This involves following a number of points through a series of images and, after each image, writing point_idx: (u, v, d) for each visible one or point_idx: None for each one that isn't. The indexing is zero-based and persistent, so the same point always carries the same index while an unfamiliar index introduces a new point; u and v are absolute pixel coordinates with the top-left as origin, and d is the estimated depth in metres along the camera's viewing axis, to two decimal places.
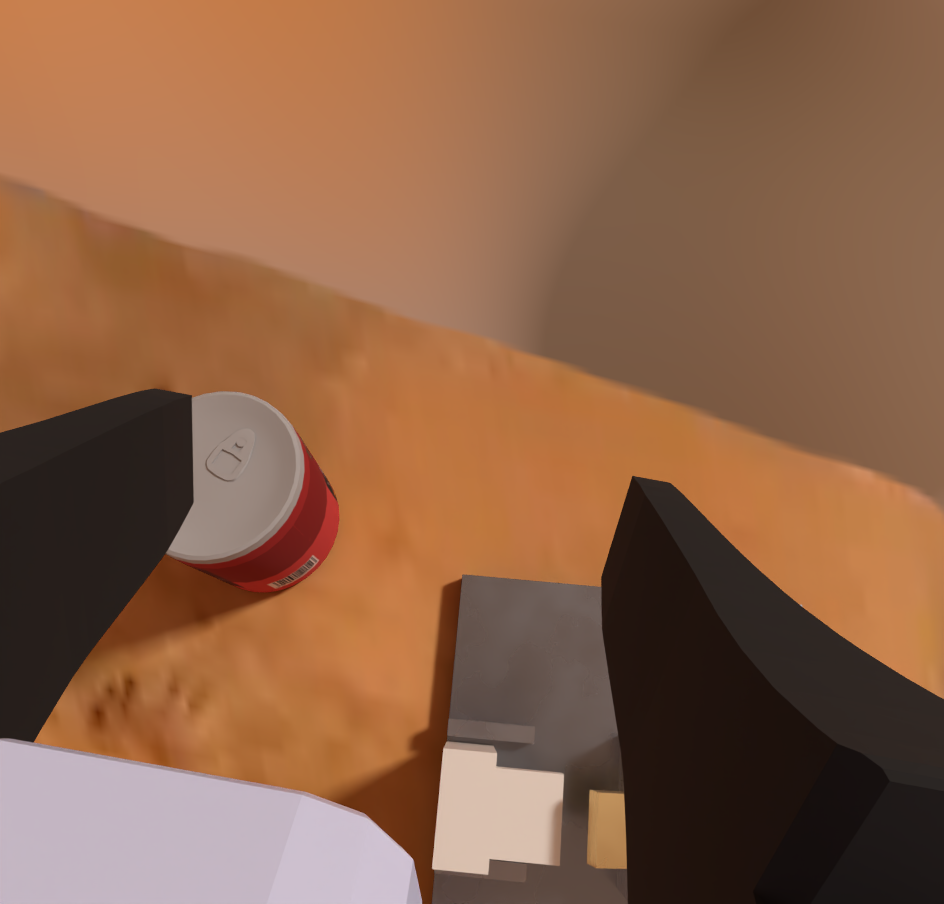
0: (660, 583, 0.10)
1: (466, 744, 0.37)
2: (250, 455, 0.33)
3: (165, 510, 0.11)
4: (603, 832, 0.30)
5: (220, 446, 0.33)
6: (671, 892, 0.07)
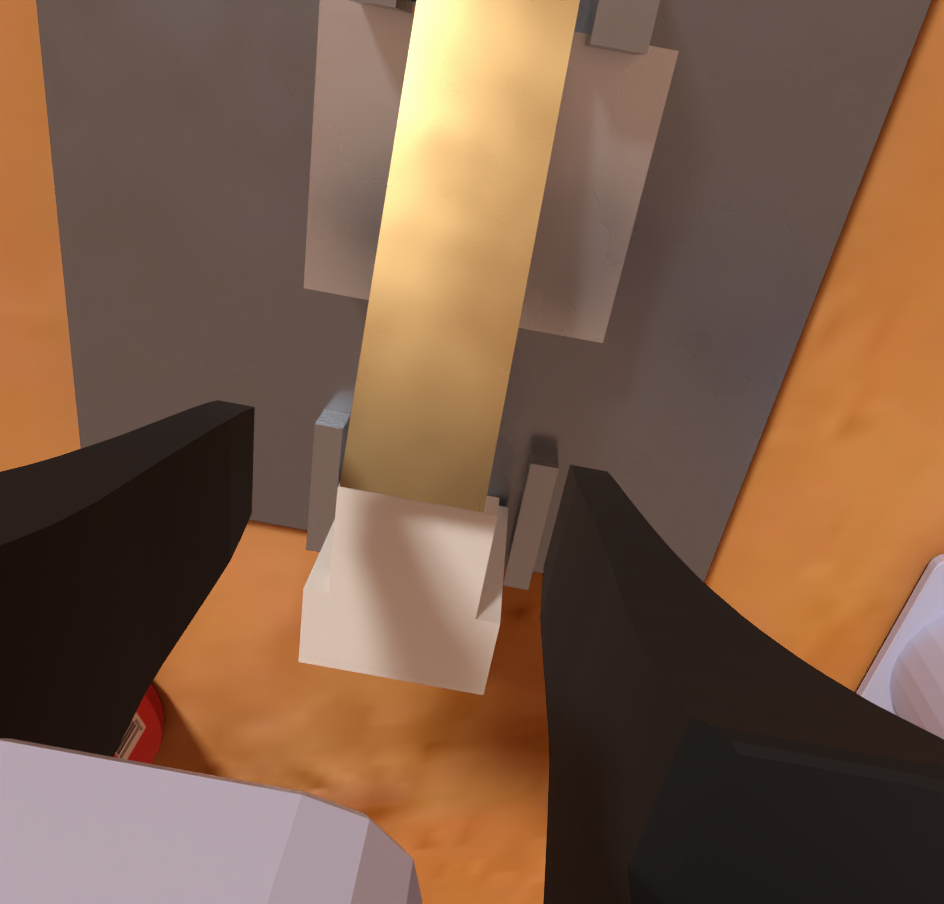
0: (584, 569, 0.10)
1: None
2: None
3: (229, 522, 0.11)
4: (418, 487, 0.14)
5: None
6: (573, 874, 0.07)
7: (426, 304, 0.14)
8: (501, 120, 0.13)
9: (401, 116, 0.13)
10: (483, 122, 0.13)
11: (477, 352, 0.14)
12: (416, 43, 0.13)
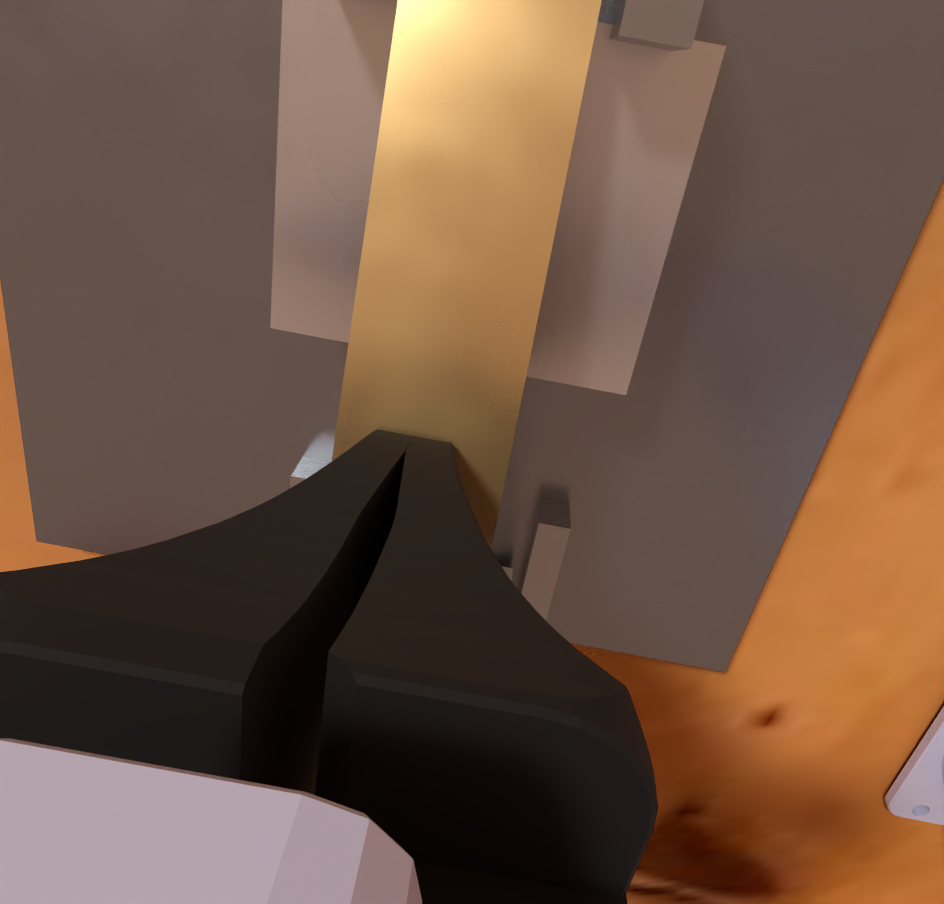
0: None
1: None
2: None
3: None
4: None
5: None
6: None
7: (414, 361, 0.12)
8: (504, 139, 0.11)
9: (382, 134, 0.11)
10: (483, 142, 0.11)
11: (475, 417, 0.12)
12: (399, 42, 0.11)
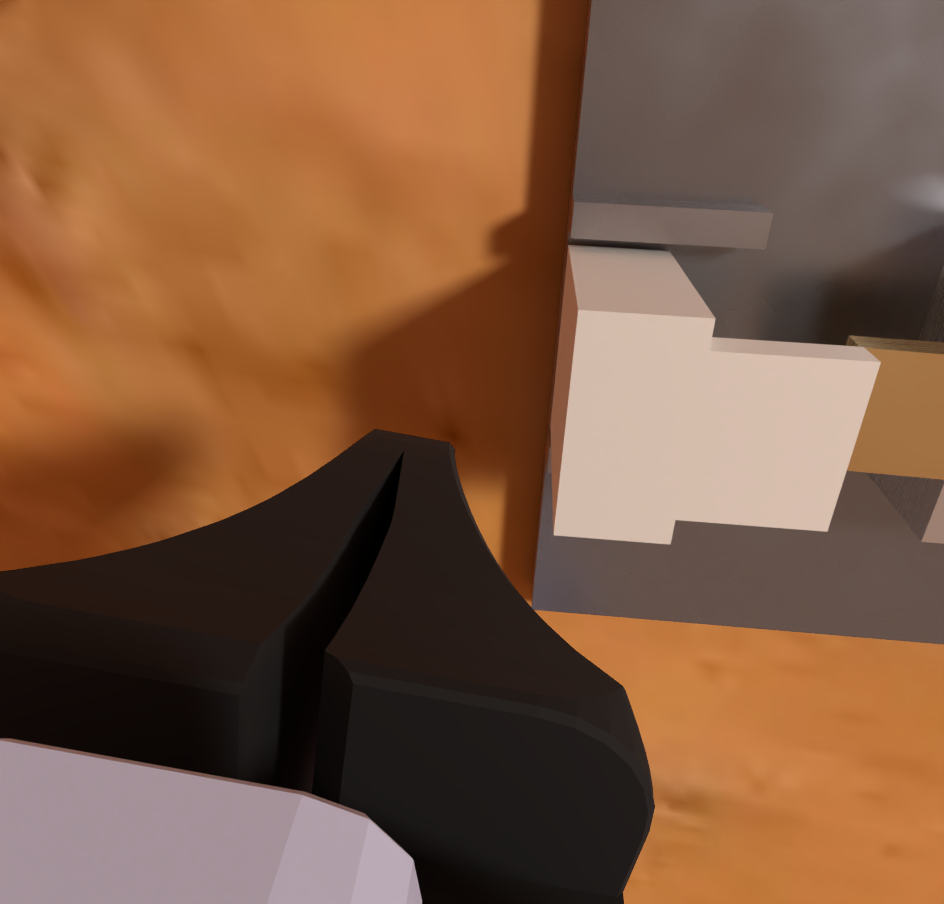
0: None
1: (615, 259, 0.17)
2: None
3: None
4: None
5: None
6: None
7: None
8: None
9: None
10: None
11: None
12: None
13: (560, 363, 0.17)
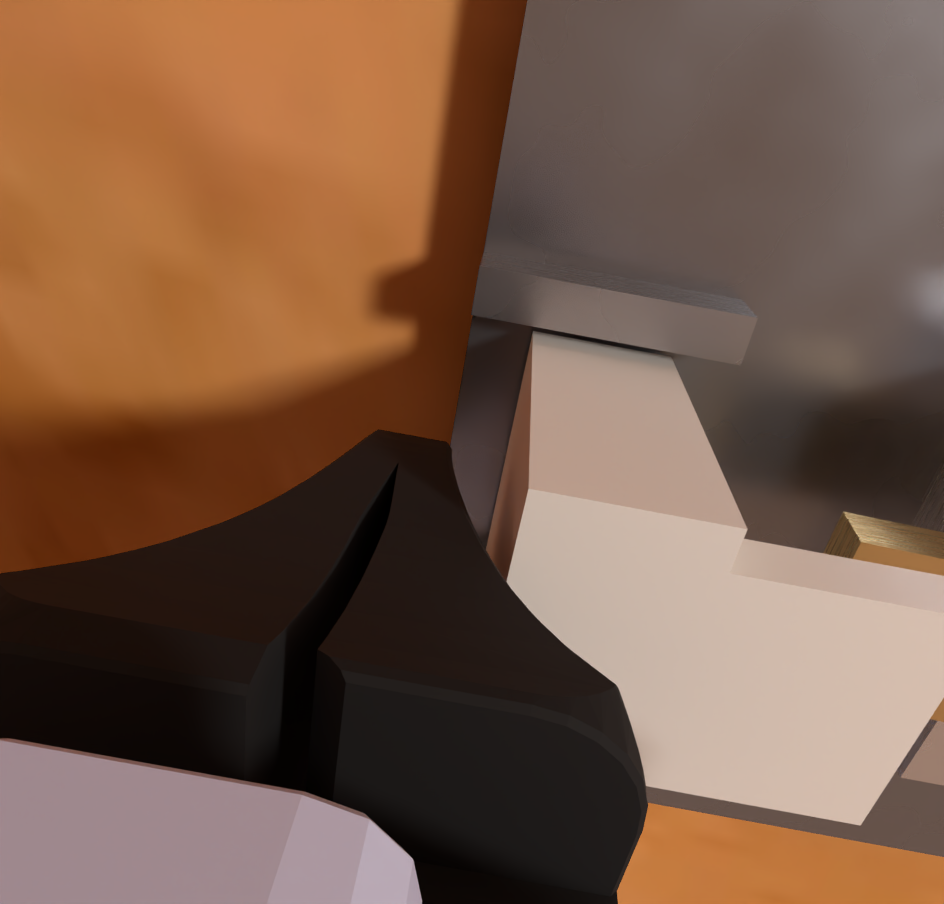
0: None
1: (596, 368, 0.12)
2: None
3: None
4: None
5: None
6: None
7: None
8: None
9: None
10: None
11: None
12: None
13: (502, 500, 0.12)
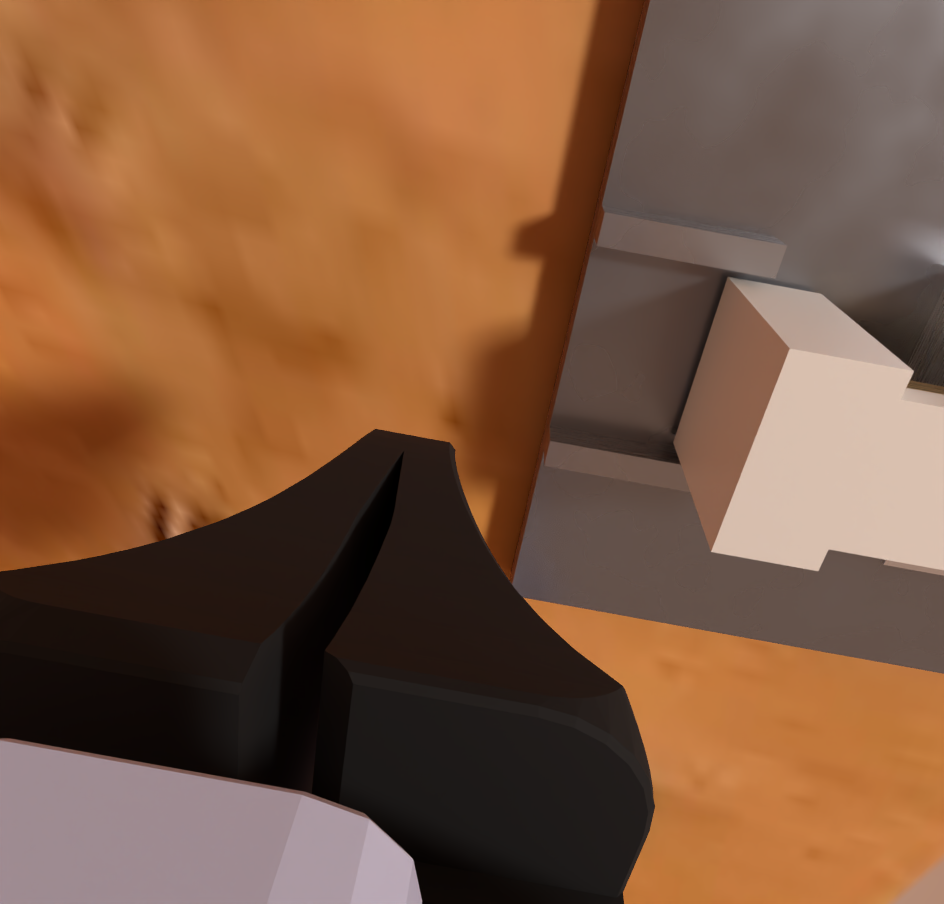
0: None
1: (781, 297, 0.18)
2: None
3: None
4: None
5: None
6: None
7: None
8: None
9: None
10: None
11: None
12: None
13: (712, 388, 0.18)
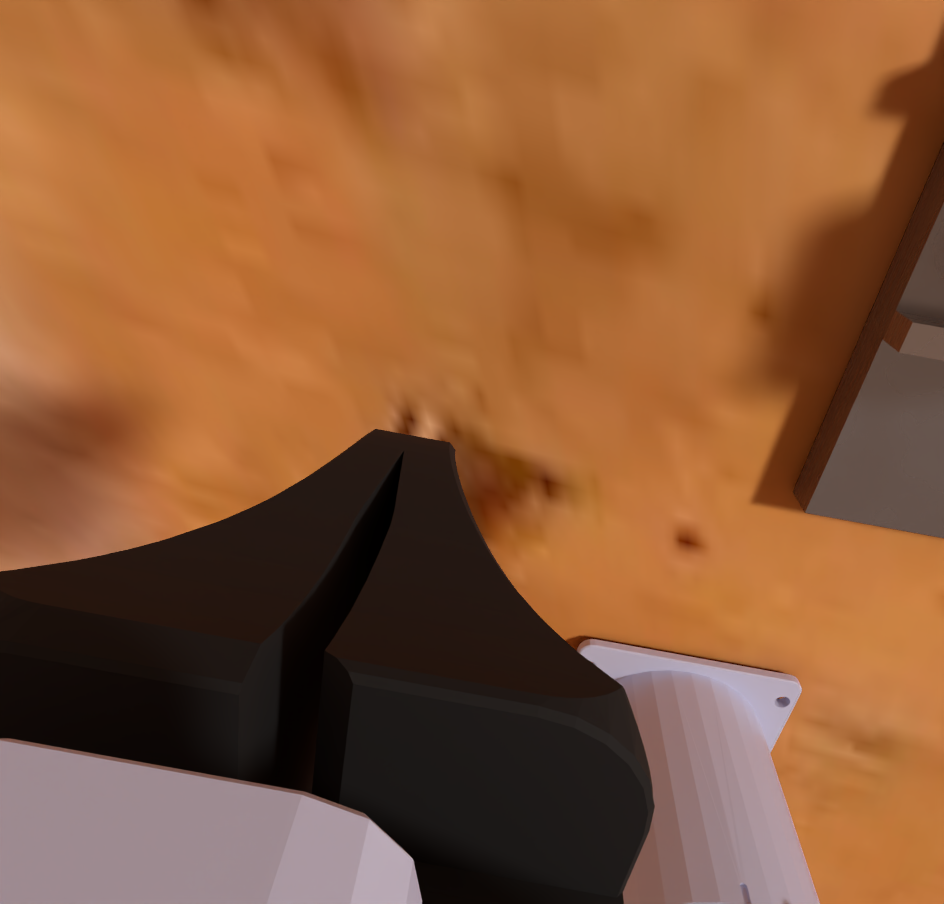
0: None
1: None
2: None
3: None
4: None
5: None
6: None
7: None
8: None
9: None
10: None
11: None
12: None
13: None
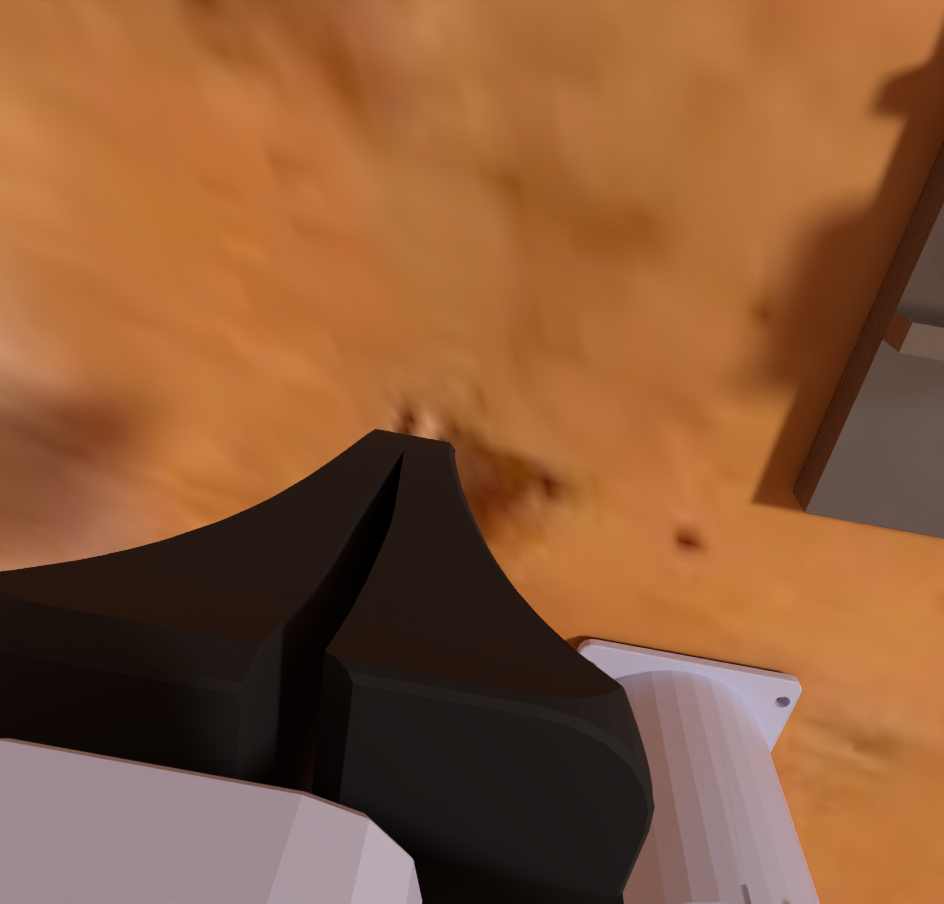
0: None
1: None
2: None
3: None
4: None
5: None
6: None
7: None
8: None
9: None
10: None
11: None
12: None
13: None
